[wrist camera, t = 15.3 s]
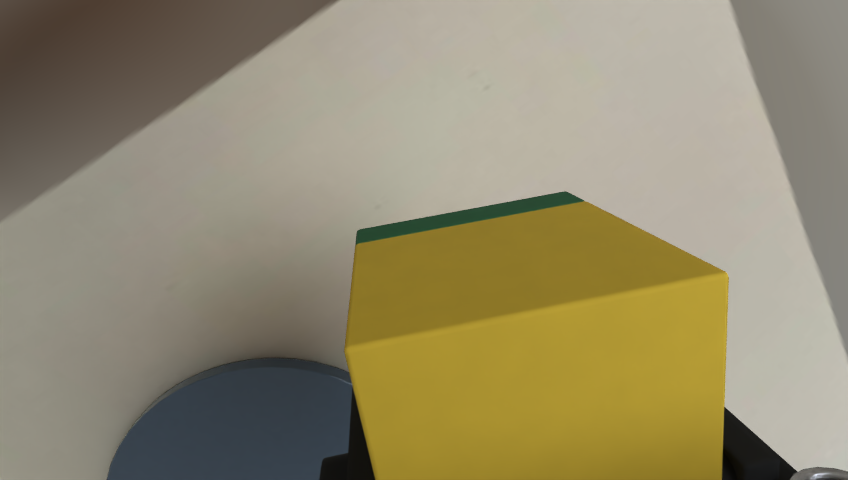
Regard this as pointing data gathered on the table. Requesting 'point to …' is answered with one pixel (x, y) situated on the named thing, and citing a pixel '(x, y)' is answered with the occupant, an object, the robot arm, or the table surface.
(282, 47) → the table surface
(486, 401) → the sponge
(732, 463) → the robot arm
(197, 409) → the plate
